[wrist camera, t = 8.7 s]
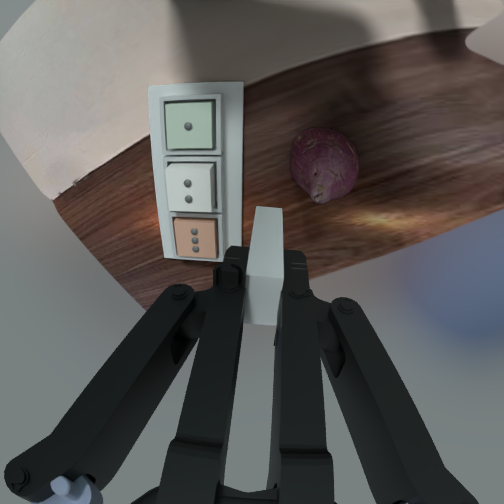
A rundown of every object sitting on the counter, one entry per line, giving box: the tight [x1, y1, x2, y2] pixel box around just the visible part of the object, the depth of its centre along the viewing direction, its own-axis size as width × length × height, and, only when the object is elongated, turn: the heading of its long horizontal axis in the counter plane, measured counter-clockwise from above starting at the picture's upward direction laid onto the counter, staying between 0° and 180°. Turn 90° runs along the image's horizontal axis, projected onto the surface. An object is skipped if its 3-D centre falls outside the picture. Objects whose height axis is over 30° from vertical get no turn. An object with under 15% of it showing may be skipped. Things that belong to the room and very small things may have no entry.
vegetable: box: [290, 128, 359, 204], centre depth 39 cm, size 10×10×15 cm
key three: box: [174, 217, 219, 258], centre depth 49 cm, size 6×6×3 cm
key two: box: [165, 163, 215, 212], centre depth 43 cm, size 6×6×3 cm
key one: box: [165, 101, 216, 149], centre depth 39 cm, size 6×6×3 cm
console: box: [148, 82, 244, 262], centre depth 45 cm, size 30×14×4 cm, turn 179°
